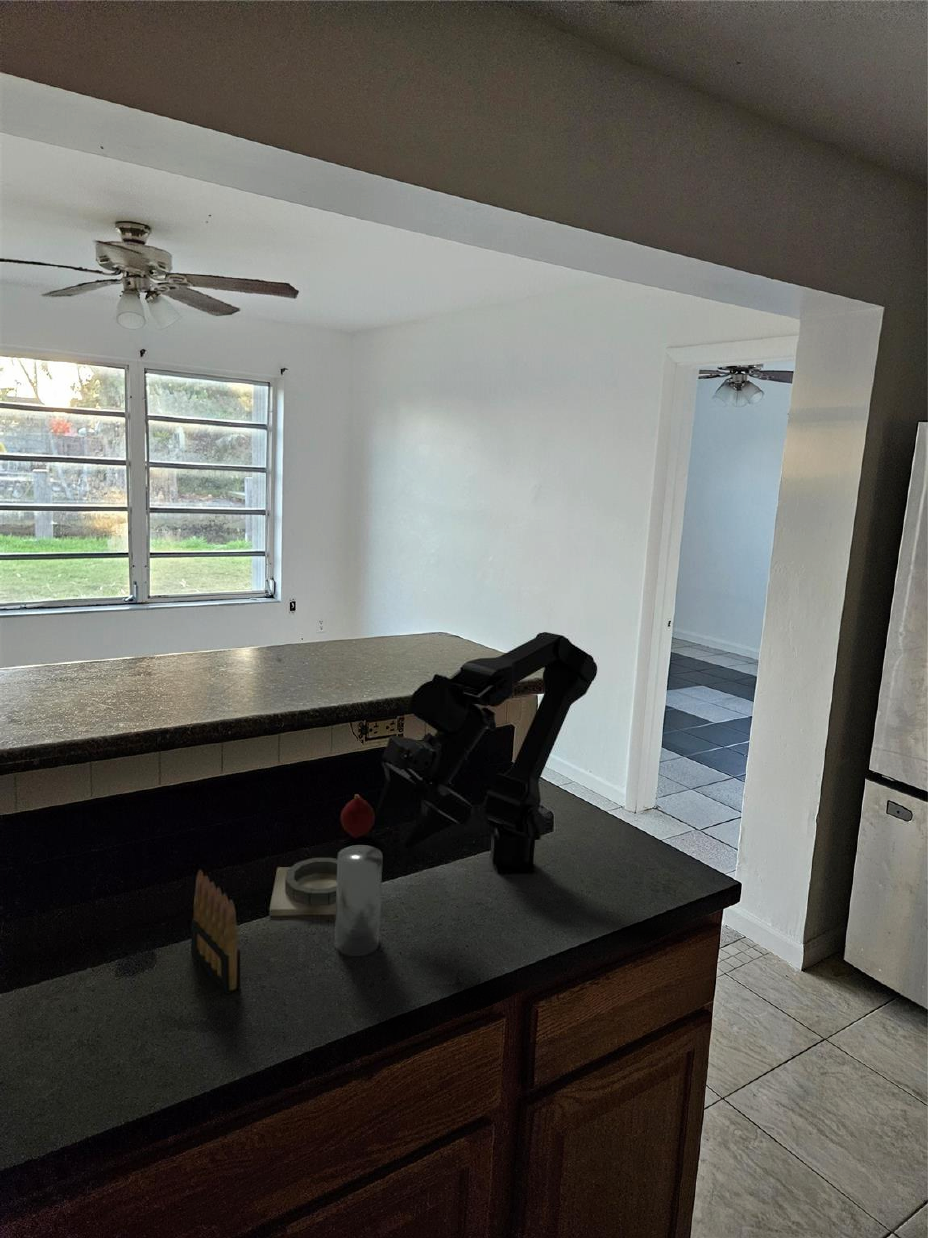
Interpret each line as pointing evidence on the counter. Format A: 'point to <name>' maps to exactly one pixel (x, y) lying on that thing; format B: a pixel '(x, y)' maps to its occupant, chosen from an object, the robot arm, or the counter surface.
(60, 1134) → the counter surface
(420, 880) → the counter surface
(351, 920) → the steel peg
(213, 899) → the ammunition clip
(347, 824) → the onion
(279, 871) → the socket plate
